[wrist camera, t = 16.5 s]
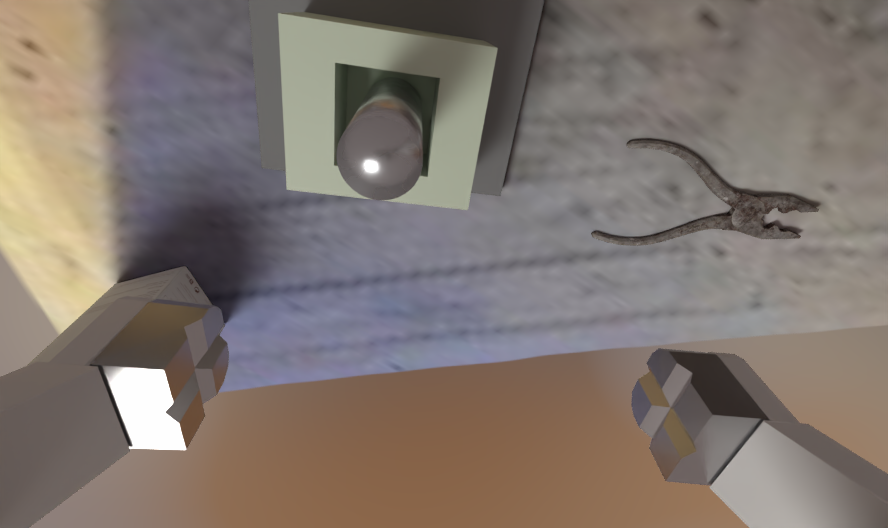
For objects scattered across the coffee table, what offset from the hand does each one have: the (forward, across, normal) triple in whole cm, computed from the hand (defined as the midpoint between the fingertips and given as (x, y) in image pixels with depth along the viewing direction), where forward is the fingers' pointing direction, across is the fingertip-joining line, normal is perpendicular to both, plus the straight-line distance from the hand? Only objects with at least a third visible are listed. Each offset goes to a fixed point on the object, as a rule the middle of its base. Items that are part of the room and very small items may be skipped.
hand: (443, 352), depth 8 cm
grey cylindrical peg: (+26, +3, +1) cm, 26 cm away
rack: (+26, +3, +1) cm, 27 cm away
